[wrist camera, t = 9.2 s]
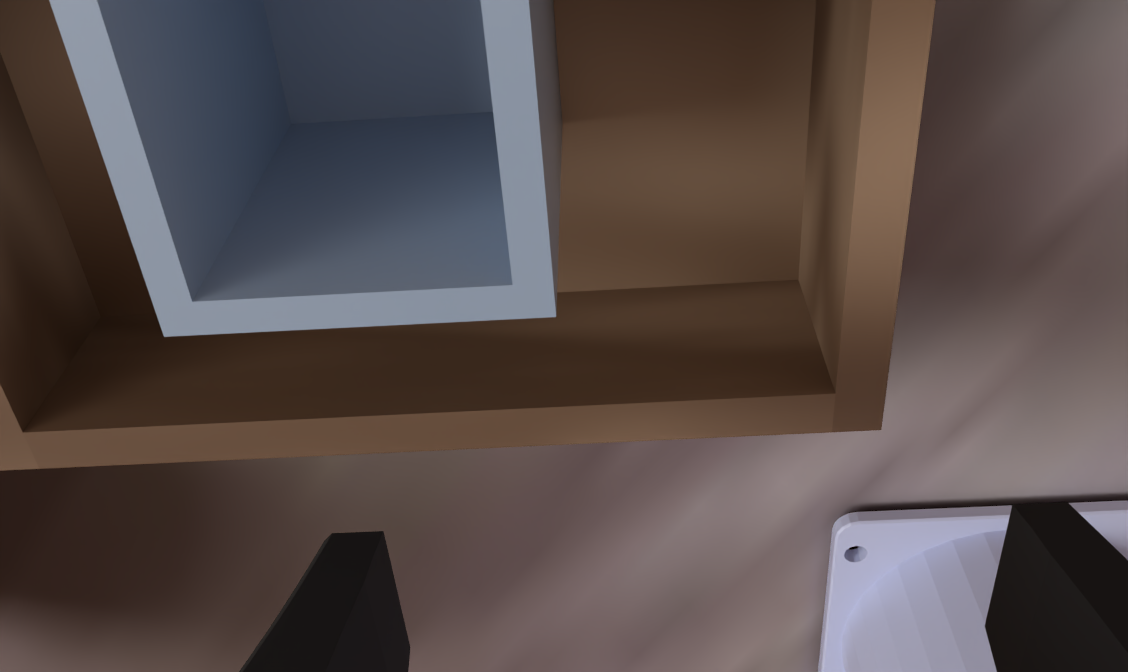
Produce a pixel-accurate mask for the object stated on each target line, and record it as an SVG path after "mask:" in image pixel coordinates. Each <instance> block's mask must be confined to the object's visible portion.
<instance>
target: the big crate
mask: <svg viewBox="0 0 1128 672" xmlns="http://www.w3.org/2000/svg"><path fill="white" fill-rule="evenodd" d="M553 2H554V15H555V29H556V43H557V56H558V70H559V83H560V97H561V110H562V155H561V186H560V217H559V248H558V279H557V310H556V317H547V318H527V319H508V320H488V321H468V322H448V323H429V324H409V325H389V326H369V327H349V328H330V329H310V330H290V331H270V332H251V333H231V334H211V335H191V336H171V337H164V335H163V332H162V330H161V327H160V324H159V321H158V318H157V315H156V312H155V309H154V306H153V303H152V300H151V297H150V294H149V291H148V288H147V286H146V283H145V280H144V277H143V274H142V271H141V268H140V265H139V262H138V259H137V256H136V253H135V250H134V247H133V244H132V242H131V239H130V236H129V233H128V230H127V227H126V224H125V221H124V218H123V215H122V212H121V209H120V206H119V203H118V201H117V198H116V195H115V192H114V189H113V186H112V183H111V180H110V177H109V174H108V171H107V168H106V165H105V162H104V159H103V157H102V154H101V151H100V148H99V145H98V142H97V139H96V136H95V133H94V130H93V127H92V124H91V121H90V118H89V116H88V113H87V110H86V107H85V104H84V101H83V98H82V95H81V92H80V89H79V86H78V83H77V80H76V77H75V74H74V72H73V69H72V66H71V63H70V60H69V57H68V54H67V51H66V48H65V45H64V42H63V39H62V36H61V33H60V30H59V28H58V25H57V22H56V19H55V16H54V13H53V10H52V7H51V4H50V1H49V0H0V471H2V470H24V469H46V468H67V467H89V466H111V465H132V464H154V463H176V462H197V461H219V460H241V459H262V458H284V457H305V456H327V455H349V454H370V453H392V452H414V451H435V450H457V449H479V448H500V447H522V446H544V445H565V444H587V443H609V442H630V441H652V440H674V439H695V438H717V437H739V436H760V435H782V434H804V433H825V432H847V431H869V430H881V427H882V419H883V412H884V404H885V396H886V388H887V380H888V372H889V364H890V356H891V349H892V341H893V333H894V325H895V317H896V309H897V301H898V293H899V286H900V278H901V270H902V262H903V254H904V246H905V238H906V231H907V223H908V215H909V207H910V199H911V191H912V183H913V175H914V168H915V160H916V152H917V144H918V136H919V128H920V120H921V112H922V105H923V97H924V89H925V81H926V73H927V65H928V57H929V50H930V42H931V34H932V26H933V18H934V10H935V2H936V0H553Z"/></svg>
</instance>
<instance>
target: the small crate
mask: <svg viewBox="0 0 1128 672" xmlns="http://www.w3.org/2000/svg"><path fill="white" fill-rule="evenodd" d="M49 1H50V4H51V7H52V10H53V13H54V16H55V19H56V22H57V25H58V28H59V30H60V33H61V36H62V39H63V42H64V45H65V48H66V51H67V54H68V57H69V60H70V63H71V66H72V69H73V72H74V74H75V77H76V80H77V83H78V86H79V89H80V92H81V95H82V98H83V101H84V104H85V107H86V110H87V113H88V116H89V118H90V121H91V124H92V127H93V130H94V133H95V136H96V139H97V142H98V145H99V148H100V151H101V154H102V157H103V159H104V162H105V165H106V168H107V171H108V174H109V177H110V180H111V183H112V186H113V189H114V192H115V195H116V198H117V201H118V203H119V206H120V209H121V212H122V215H123V218H124V221H125V224H126V227H127V230H128V233H129V236H130V239H131V242H132V244H133V247H134V250H135V253H136V256H137V259H138V262H139V265H140V268H141V271H142V274H143V277H144V280H145V283H146V286H147V288H148V291H149V294H150V297H151V300H152V303H153V306H154V309H155V312H156V315H157V318H158V321H159V324H160V327H161V330H162V332H163V335H164V337H171V336H191V335H211V334H231V333H251V332H270V331H290V330H310V329H330V328H349V327H369V326H389V325H409V324H429V323H448V322H468V321H488V320H508V319H527V318H547V317H556V310H557V279H558V248H559V217H560V186H561V155H562V110H561V97H560V83H559V70H558V56H557V43H556V29H555V15H554V2H553V0H49Z"/></svg>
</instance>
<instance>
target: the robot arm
mask: <svg viewBox="0 0 1128 672" xmlns="http://www.w3.org/2000/svg"><path fill="white" fill-rule="evenodd" d="M854 546H860V547H858V548H857V549H853V550H849V548H850V547H854ZM409 655H410V644H409V640H408V636H407V631H406V627H405V623H404V618H403V614H402V610H401V605H400V601H399V597H398V592H397V588H396V584H395V579H394V575H393V571H392V566H391V562H390V558H389V553H388V549H387V545H386V540H385V536H384V532H383V531H379V532H355V533H332V534H331V535H330V536H329V537H328V538H327V539H326V540H325V541H324V543H323V544H322V546H321V547H320V549H319V551H318V552H317V554H316V556H315V557H314V559H313V561H312V562H311V564H310V566H309V567H308V569H307V570H306V572H305V574H304V575H303V577H302V579H301V580H300V582H299V583H298V585H297V587H296V588H295V590H294V591H293V593H292V594H291V596H290V598H289V599H288V601H287V602H286V604H285V605H284V607H283V608H282V610H281V611H280V613H279V614H278V616H277V617H276V619H275V621H274V622H273V624H272V625H271V627H270V628H269V630H268V631H267V633H266V634H265V636H264V637H263V638H262V640H261V641H260V643H259V644H258V646H257V647H256V648H255V650H254V651H253V653H252V654H251V656H250V657H249V658H248V660H247V661H246V663H245V664H244V666H243V667H242V669H241V670H240V671H239V672H408V667H409ZM818 672H1128V500H1127V501H1103V502H1080V503H1068V502H1061V503H1038V504H1014V505H1009V506H986V507H962V508H938V509H915V510H891V511H868V512H853V513H848V514H846V515H844V516H842V517H840V518H839V519H838V520H837V521H836V522H835V523H834V526H833V529H832V538H831V548H830V558H829V568H828V578H827V588H826V598H825V608H824V618H823V628H822V638H821V648H820V657H819V667H818Z"/></svg>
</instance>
